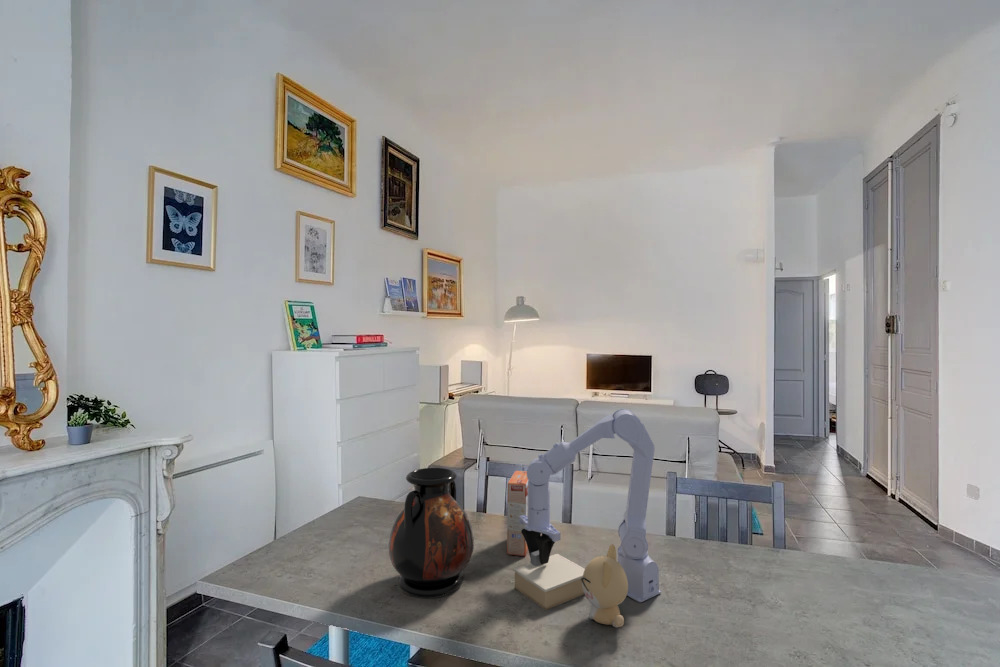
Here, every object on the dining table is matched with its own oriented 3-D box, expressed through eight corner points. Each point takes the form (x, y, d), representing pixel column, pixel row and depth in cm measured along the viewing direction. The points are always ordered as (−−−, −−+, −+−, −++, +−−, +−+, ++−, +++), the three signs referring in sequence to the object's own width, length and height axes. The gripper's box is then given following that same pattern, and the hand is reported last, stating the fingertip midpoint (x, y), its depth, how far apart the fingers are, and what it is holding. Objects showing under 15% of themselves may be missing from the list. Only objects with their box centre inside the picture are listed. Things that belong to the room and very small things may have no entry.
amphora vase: (426, 557, 138) (425, 459, 139) (489, 576, 127) (489, 469, 127) (369, 591, 120) (369, 477, 120) (439, 616, 109) (438, 491, 109)
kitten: (589, 597, 116) (588, 535, 117) (632, 606, 113) (631, 541, 113) (575, 633, 102) (575, 561, 103) (623, 643, 99) (623, 569, 99)
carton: (589, 592, 119) (589, 575, 119) (545, 610, 111) (545, 592, 111) (557, 572, 129) (557, 557, 129) (514, 588, 121) (514, 572, 121)
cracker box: (527, 557, 138) (526, 483, 138) (506, 555, 139) (506, 482, 140) (533, 537, 152) (533, 470, 152) (514, 536, 153) (514, 469, 153)
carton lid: (591, 574, 119) (591, 561, 119) (545, 592, 111) (545, 578, 111) (557, 555, 129) (557, 543, 129) (513, 570, 121) (513, 557, 121)
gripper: (509, 501, 128) (509, 553, 128) (544, 518, 116) (545, 575, 116) (530, 496, 132) (530, 546, 132) (566, 512, 120) (567, 567, 120)
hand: (539, 559), depth 124 cm, fingers open, 4 cm apart
